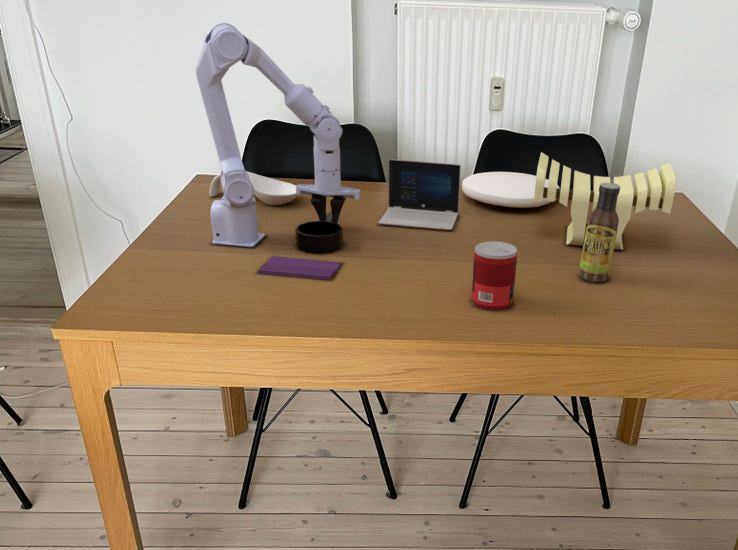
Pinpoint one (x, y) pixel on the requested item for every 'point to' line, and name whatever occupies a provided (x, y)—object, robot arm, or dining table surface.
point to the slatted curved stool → (584, 195)
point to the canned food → (494, 275)
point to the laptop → (422, 195)
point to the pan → (319, 236)
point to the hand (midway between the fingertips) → (329, 227)
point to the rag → (300, 268)
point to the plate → (503, 189)
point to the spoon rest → (264, 189)
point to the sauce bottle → (600, 235)
